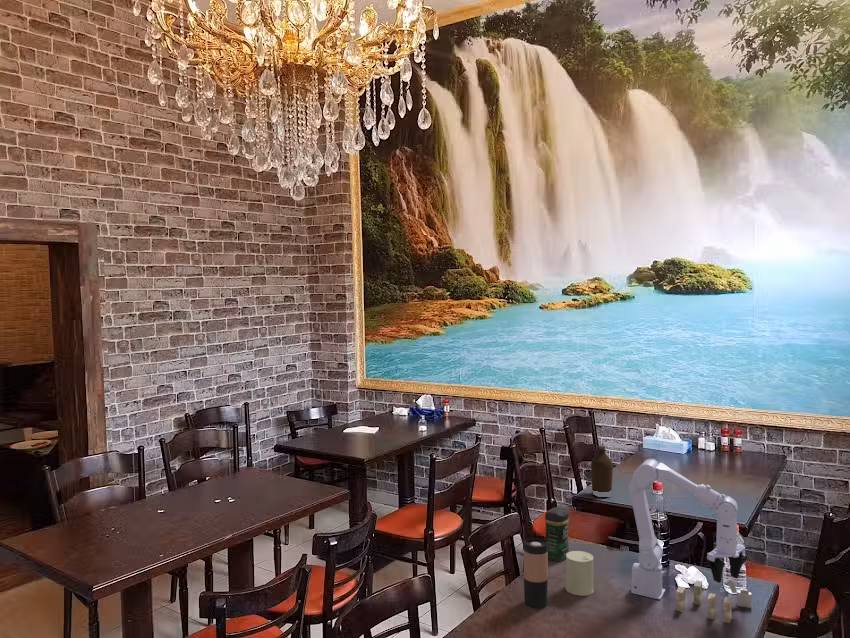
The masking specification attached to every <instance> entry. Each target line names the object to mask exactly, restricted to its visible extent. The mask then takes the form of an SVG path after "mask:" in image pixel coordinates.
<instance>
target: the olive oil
mask: <svg viewBox="0 0 850 638" xmlns="http://www.w3.org/2000/svg"><path fill="white" fill-rule="evenodd" d="M597 451H598V453H597V454H596V455H595V456H594V457H592V458H591V459H592V460H591V462H590V473H591V474H590V475H591V476H590V477H591V491H592V490H593V491H598V492H609V491H611V490H612V489H613V475H614V474H613V473H614V472H613V471H614V470H613V469H614V464H613V461H612V459H611V458H610V457H609V456H608V455H607V453H606V445H603V444H599V445H598V449H597Z"/></svg>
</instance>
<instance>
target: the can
mask: <svg viewBox="0 0 850 638" xmlns="http://www.w3.org/2000/svg"><path fill="white" fill-rule="evenodd" d="M565 559H566V560H565V565H566V566H565V567H566V568H565V569H566V570H565V572H566V575H565V580H566V581H565V590H566V591H567V593H569V594H571V595H574V596H578V597H580V596H581V597H584V596H585V597H586V596H590V595H592V594H593V593H594V591H595V590H594V556H593V554H591V553H589V552H586V551H584V550H583V551H582V550H572V551H569V552H568V553H567V554H566V558H565Z"/></svg>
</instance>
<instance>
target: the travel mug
mask: <svg viewBox="0 0 850 638" xmlns="http://www.w3.org/2000/svg"><path fill="white" fill-rule="evenodd" d="M548 560H549V559H548V550H547V543H545V540H543V539H542V538H534V537H532V538H526V539H525V540H524V541H523V593H524V594H523V595H524V596H523V599H524V604H525V606H526V607H527V608H531V609H534V610H541V609H544V608H546V607H547V605H548V583H549V580H548V578H549V576H548V574H549V572H548V569H549V568H548V564H549V563H548Z"/></svg>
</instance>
